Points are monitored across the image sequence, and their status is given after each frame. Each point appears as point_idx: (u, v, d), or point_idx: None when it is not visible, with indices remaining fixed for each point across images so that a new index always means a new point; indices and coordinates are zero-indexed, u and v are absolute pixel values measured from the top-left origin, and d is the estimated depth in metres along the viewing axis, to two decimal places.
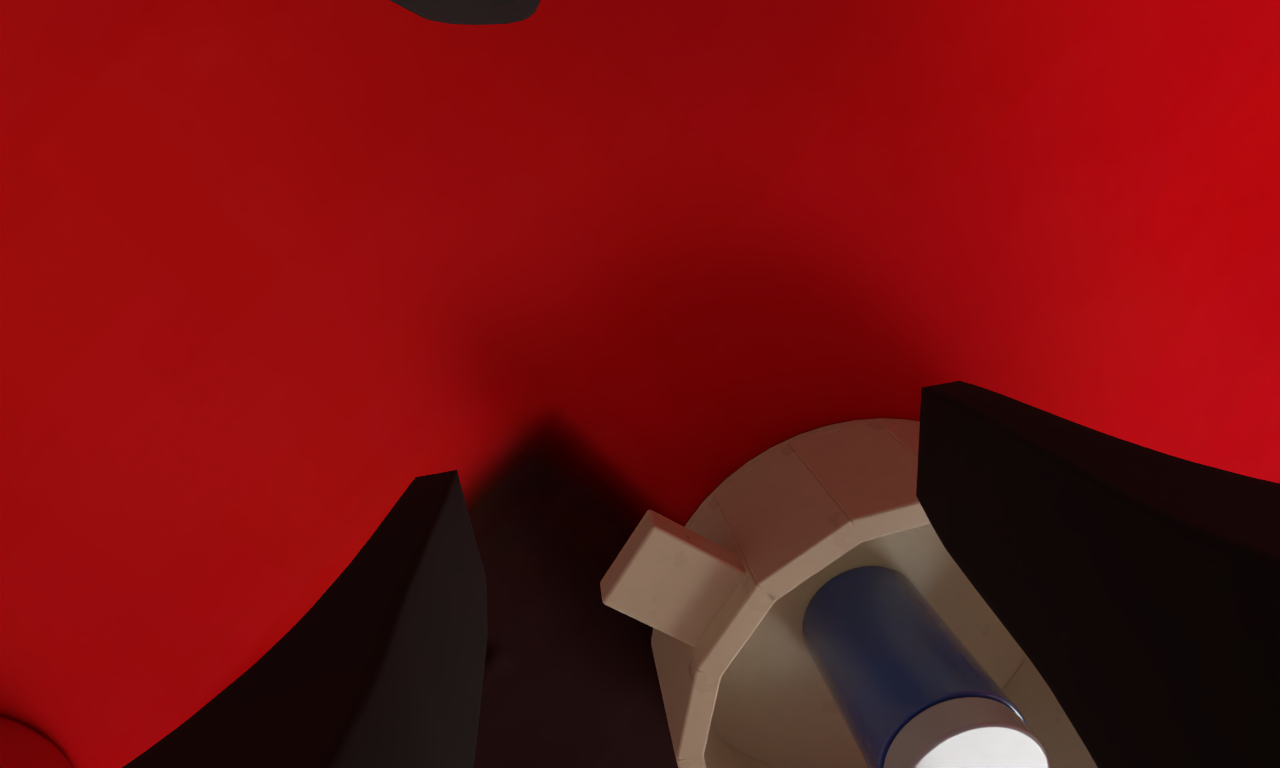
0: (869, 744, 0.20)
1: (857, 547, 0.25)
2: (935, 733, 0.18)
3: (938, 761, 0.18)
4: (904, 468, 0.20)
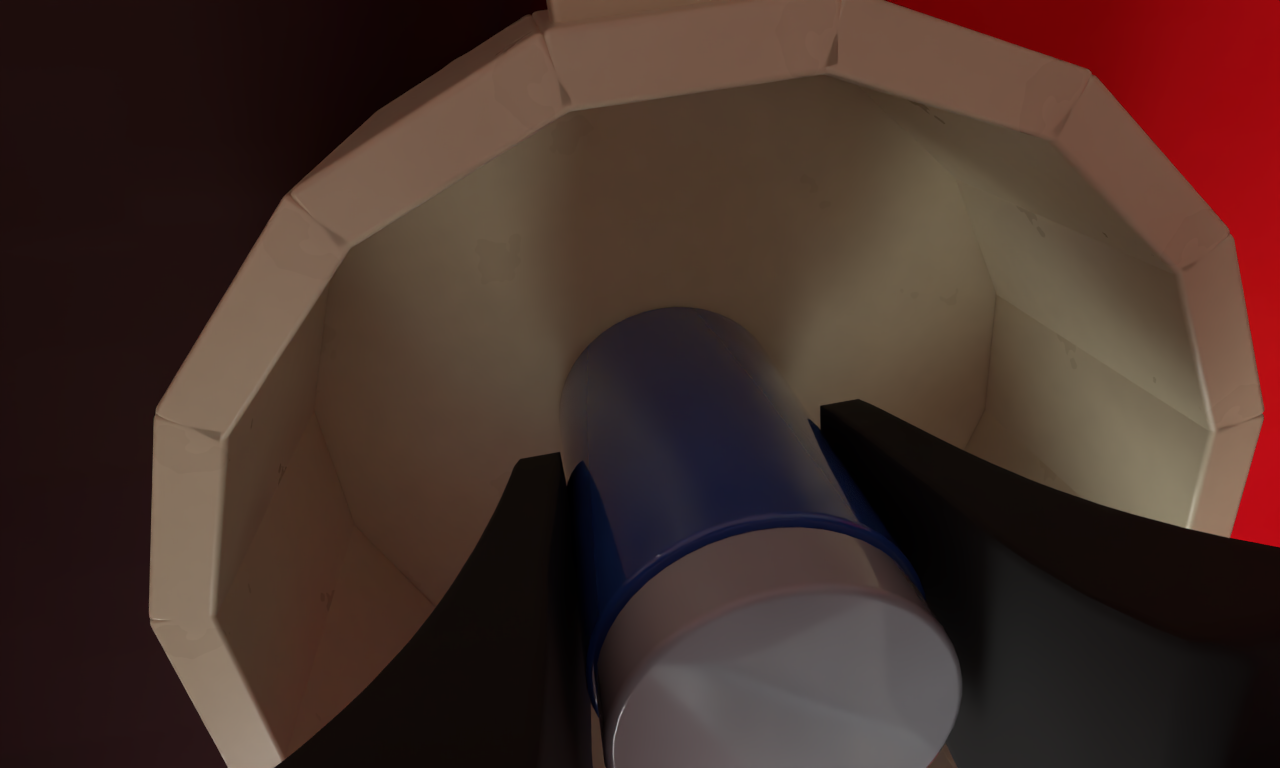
0: (656, 519, 0.09)
1: (777, 302, 0.14)
2: (852, 574, 0.08)
3: (812, 626, 0.07)
4: None
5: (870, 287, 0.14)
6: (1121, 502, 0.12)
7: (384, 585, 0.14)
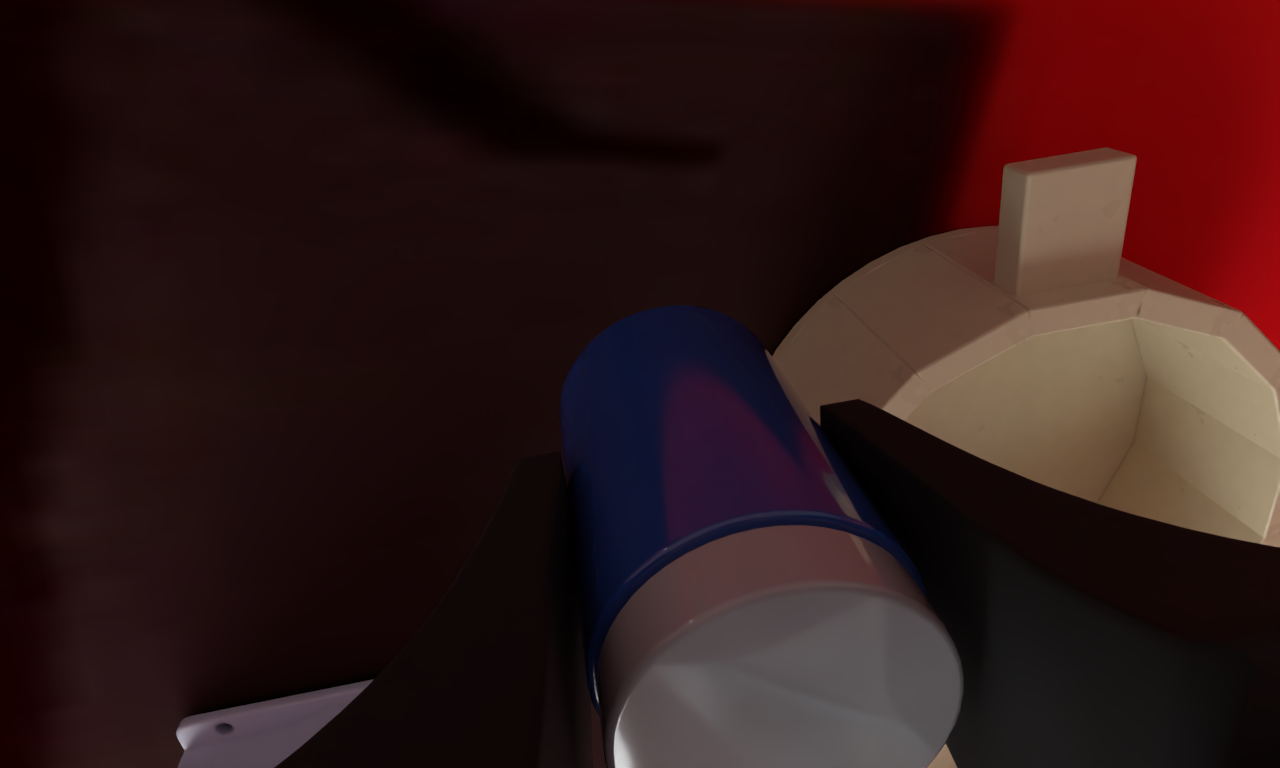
0: (657, 517, 0.09)
1: (1023, 383, 0.24)
2: (853, 572, 0.08)
3: (813, 623, 0.07)
4: None
5: (1076, 373, 0.24)
6: (1231, 497, 0.22)
7: None
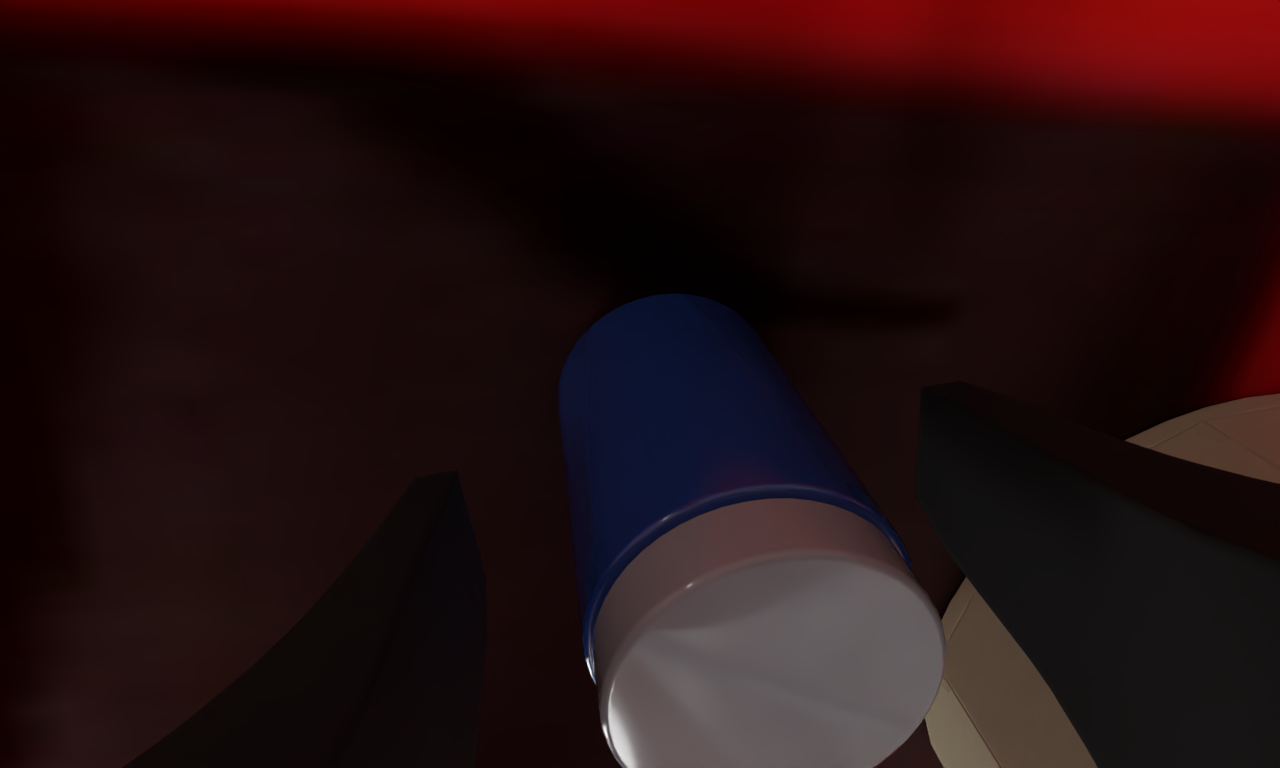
0: (651, 492, 0.09)
1: None
2: (838, 541, 0.08)
3: (800, 590, 0.08)
4: None
5: None
6: None
7: None
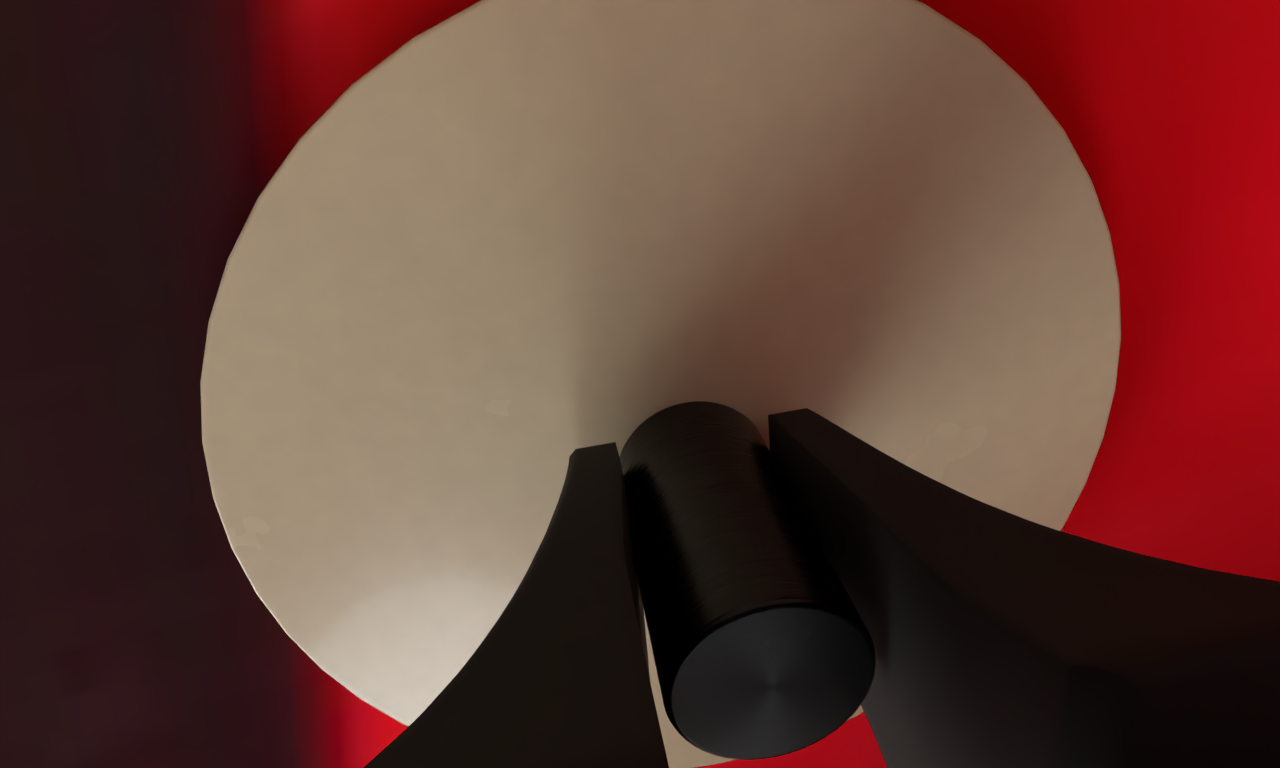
0: None
1: None
2: None
3: None
4: None
5: None
6: None
7: None
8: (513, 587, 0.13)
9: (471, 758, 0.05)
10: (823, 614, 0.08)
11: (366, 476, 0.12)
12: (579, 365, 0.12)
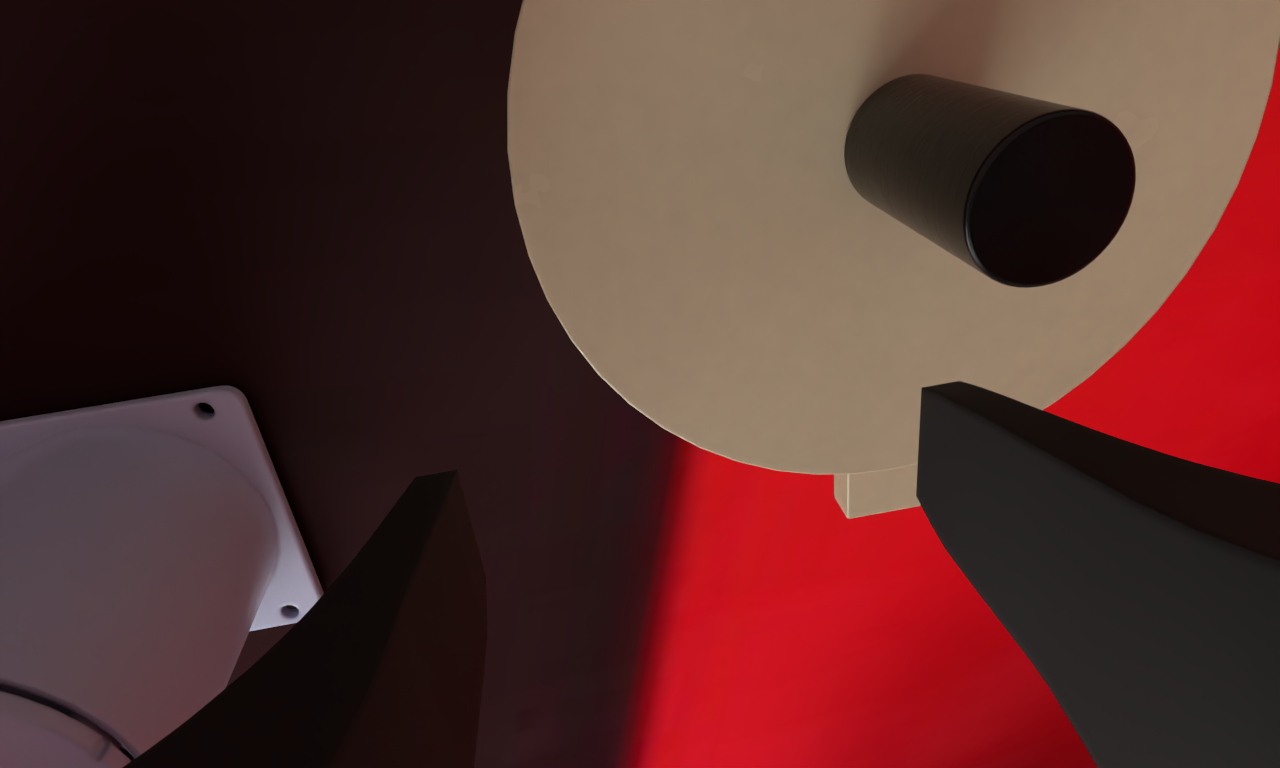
0: None
1: None
2: None
3: None
4: None
5: None
6: None
7: None
8: (742, 263, 0.15)
9: None
10: (1103, 127, 0.10)
11: (636, 137, 0.14)
12: (825, 32, 0.13)
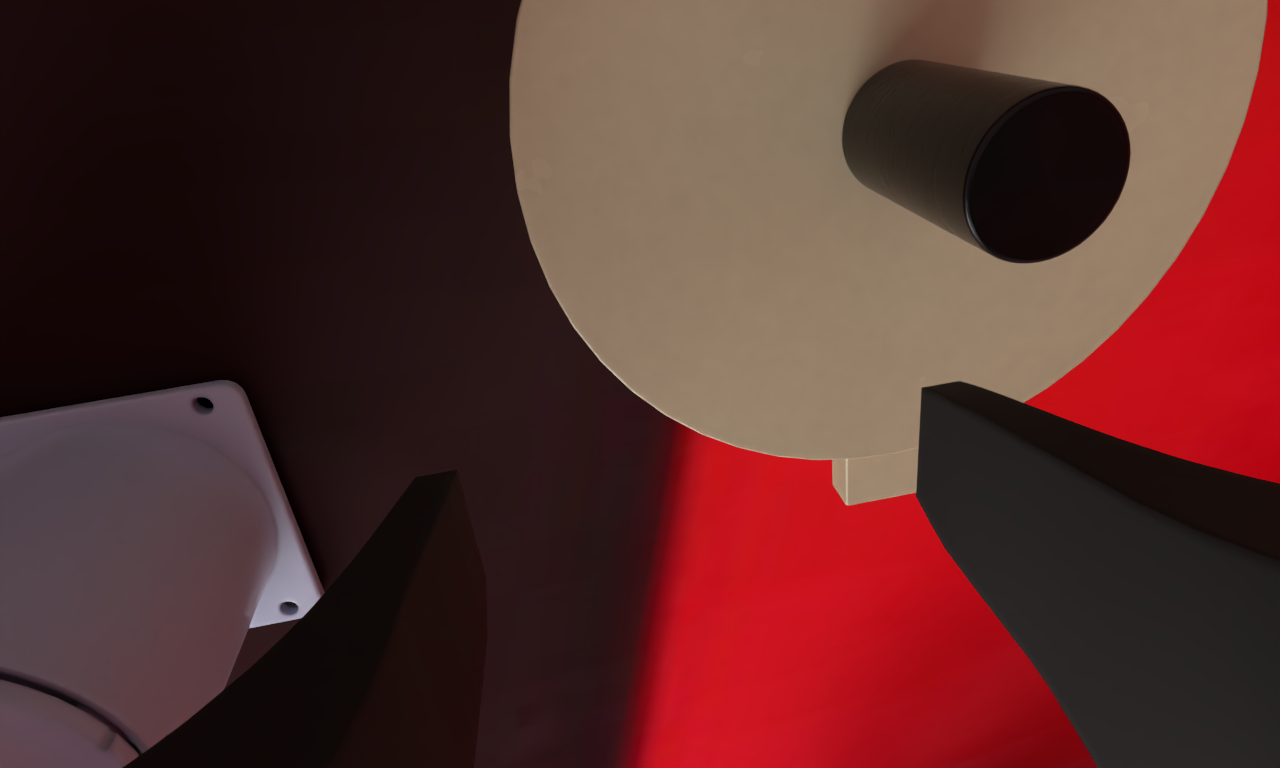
0: None
1: None
2: None
3: None
4: None
5: None
6: None
7: None
8: (742, 248, 0.15)
9: None
10: (1099, 103, 0.10)
11: (637, 123, 0.14)
12: (823, 18, 0.14)
